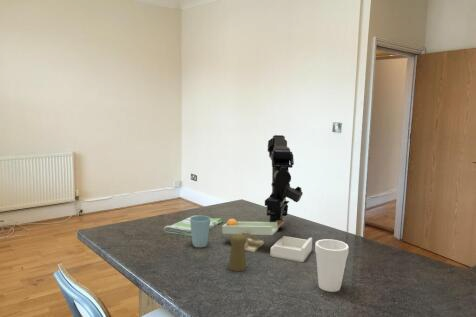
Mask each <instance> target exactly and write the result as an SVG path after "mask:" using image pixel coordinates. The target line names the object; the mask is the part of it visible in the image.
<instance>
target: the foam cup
mask: <svg viewBox="0 0 476 317" xmlns="http://www.w3.org/2000/svg"><path fill="white" fill-rule="evenodd" d="M314 246H315V247H314V248H315V249H314V251H315V257H316V270H317V280H318V281H317V284H318V287H319V288H320V289H321V290H322V291H325V292H329V293H330V292H331V293H334V292H338V291H340V290H341V287H342V282H343V278H344V274H345V268H346V263H347V259H348V256H349V248H350V246H349V245H348V243H345V242H344V241H341V240H337V239H331V238H330V239H327V238H326V239H325V238H324V239H319V240H316V241H315V245H314Z"/></svg>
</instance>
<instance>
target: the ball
mask: <svg viewBox="0 0 476 317" xmlns="http://www.w3.org/2000/svg"><path fill="white" fill-rule="evenodd" d="M237 222H238V221H237V220H236V219H235V218H229V219H228V220H227V222H226V223H227V226H237Z"/></svg>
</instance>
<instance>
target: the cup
mask: <svg viewBox="0 0 476 317" xmlns="http://www.w3.org/2000/svg"><path fill="white" fill-rule="evenodd" d="M192 216H193V217H191V216H190V217H191V218H190V223H191V233H192V236H191V241H192V246H193V247H195V248H204V247H207V246H208V243H209V242H208V241H209V234H210V230H209V227H210V220H211V218H212V217H210V216H207V215H199V216H194V215H192Z"/></svg>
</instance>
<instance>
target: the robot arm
mask: <svg viewBox="0 0 476 317" xmlns="http://www.w3.org/2000/svg"><path fill="white" fill-rule="evenodd" d="M285 138H286V137H285V135H279V134H278V135H277V134H274V135H272V137H271V138H270V139H269V140H268V141H267V153H268V157H269V158H270V160H271V167H272V168H271V170H272V172H271V175H272V176H271V177H272V180H271V181H272V182H271V194H270V195H269V196H268V197H267V198H266V199H265V200H264V206H265V207H266V208H265V209H266V216H269V218H268V222H276V221H277V220H282V221H283V218H284V217H287V216H288V210H289V209H288V208H289V205H288V204H289V203H290V201H289V200H287V198H288V199H290V200H292V201H293V202H295V203H298V202H300V200H301V198H302V196H303V191H302V187H300V186H297V187H291V184H290V183H291V181H292V176H291V173H290V171H289V169H290V168H293V166H294V163H295V162H294V160H295V159H294V154H293V151H291V149H290V147H289V146H288V141H287V140H286V139H285ZM284 228H285V225H281V226H280V227H279V228H278V230H277V231H276V232H281V231H282V230H284Z"/></svg>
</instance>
